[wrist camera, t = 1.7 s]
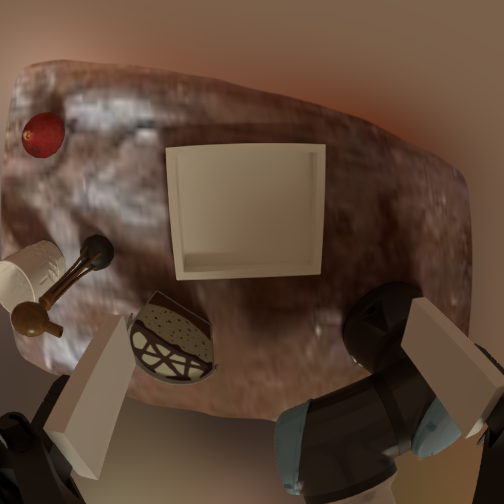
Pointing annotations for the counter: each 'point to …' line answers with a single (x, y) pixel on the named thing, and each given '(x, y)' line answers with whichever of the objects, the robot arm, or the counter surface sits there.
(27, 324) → the wooden tabletop sculpture
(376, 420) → the robot arm
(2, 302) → the white cup
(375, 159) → the counter surface
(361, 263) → the counter surface
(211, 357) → the food container
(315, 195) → the tray
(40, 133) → the onion
